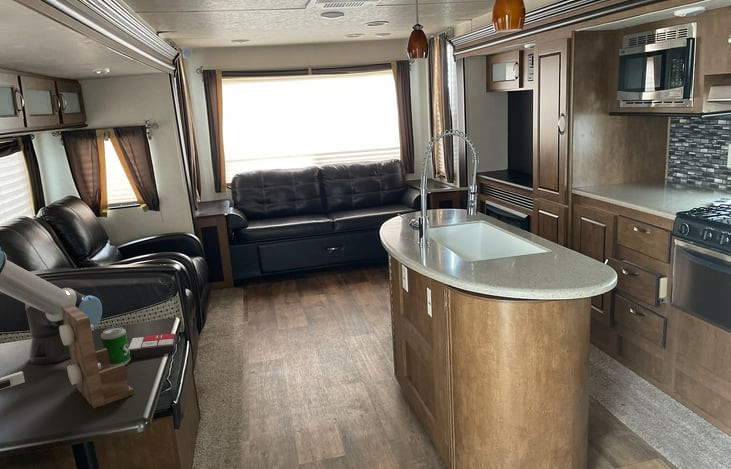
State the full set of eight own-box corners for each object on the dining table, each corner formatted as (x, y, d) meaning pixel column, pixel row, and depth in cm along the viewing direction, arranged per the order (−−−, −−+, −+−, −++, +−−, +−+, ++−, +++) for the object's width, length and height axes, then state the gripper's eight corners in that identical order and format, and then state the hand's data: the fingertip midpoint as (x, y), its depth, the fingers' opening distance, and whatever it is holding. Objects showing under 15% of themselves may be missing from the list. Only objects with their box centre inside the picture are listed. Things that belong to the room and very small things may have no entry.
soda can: (122, 369, 183) (116, 334, 181) (101, 369, 185) (95, 334, 182) (135, 359, 190) (130, 325, 188) (115, 359, 192) (109, 325, 189)
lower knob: (69, 381, 165) (65, 363, 164) (99, 371, 170) (95, 354, 169) (74, 387, 161) (70, 369, 160) (104, 377, 166) (101, 359, 165)
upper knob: (61, 342, 162) (58, 324, 161) (92, 334, 168) (88, 316, 166) (66, 347, 158) (63, 328, 157) (97, 338, 163) (94, 320, 162)
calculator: (173, 343, 193) (126, 348, 190) (175, 355, 194) (127, 360, 191) (176, 331, 204) (131, 336, 200) (177, 343, 205) (132, 348, 201)
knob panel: (76, 387, 172) (60, 306, 167) (114, 375, 179) (100, 296, 174) (93, 408, 159) (77, 320, 153) (133, 394, 166) (119, 309, 160)
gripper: (-83, 415, 145) (21, 381, 160) (-80, 434, 136) (31, 397, 150) (-91, 388, 144) (16, 356, 158) (-88, 406, 134) (25, 371, 149)
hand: (23, 376), depth 154 cm, fingers closed
